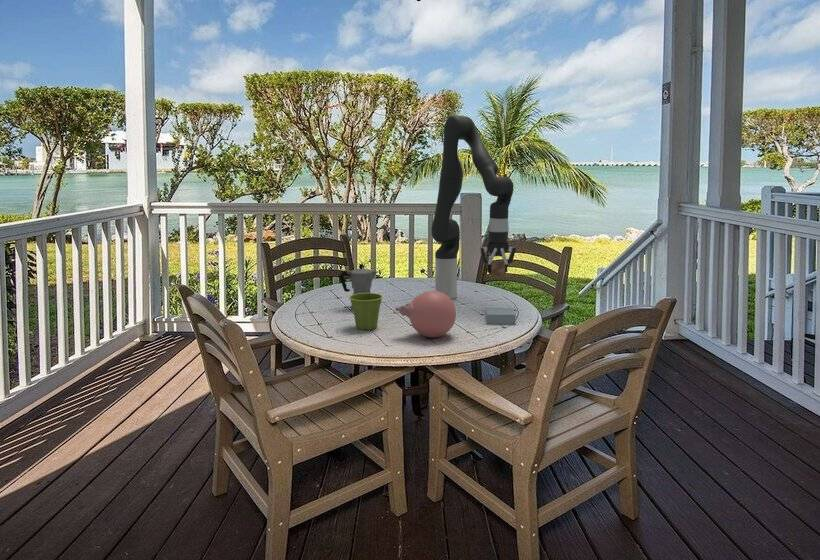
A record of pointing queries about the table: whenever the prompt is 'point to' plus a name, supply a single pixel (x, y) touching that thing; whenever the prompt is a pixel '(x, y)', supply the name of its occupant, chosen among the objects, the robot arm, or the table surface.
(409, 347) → the table surface
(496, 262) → the walnut block
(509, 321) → the slate base block
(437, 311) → the balloon
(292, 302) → the table surface
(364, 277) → the coffeepot
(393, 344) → the table surface
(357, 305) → the plant pot
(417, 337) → the table surface
